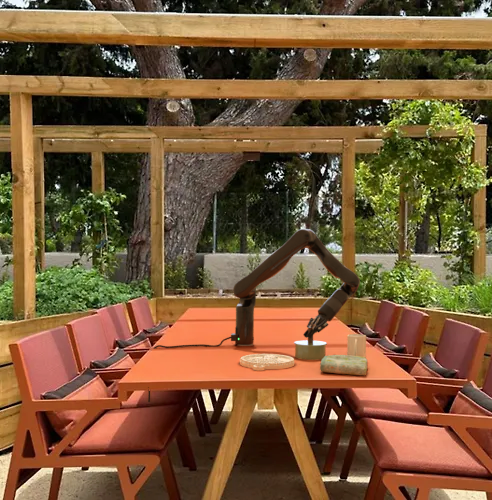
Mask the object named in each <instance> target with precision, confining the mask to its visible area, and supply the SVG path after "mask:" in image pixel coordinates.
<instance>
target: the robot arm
mask: <svg viewBox="0 0 492 500" xmlns="http://www.w3.org/2000/svg"><path fill="white" fill-rule="evenodd" d="M303 249H308V250H309V251H311V252H312V253H313V254H314V255H315V256H316V257H317V258H318V260H319V261H320V262H321V264H322V266H323V267H324V268H325V269H326V270H327V272H329V273H330V274H331V275H332V276H333V277H334V278H335V279H339V280H340V281H342V282H343V283H342V285H340V287H339V288H338V289H336V290H335V291H334V292H333V293H332V295H330V296H329V297H328V298H327V299H326V300H325V301H324V302H323V304H321V306H320V307H319V309H318V310H317V315H316V316H315V317H314V318H313V317H311V318H310V319H309V321H308V322H307V325H306V328H307V329H306V330H305V332H304V333H303V337H304V338H307V339H308V338H309V339H310V338H311V337H312V336H313V337H314V335H315V334H317V333H320V332H322V331H323V330H324V329H325V328H327V327H328V326H329V323H330V322H331V321H332V320H333V319H334V318H335V317H336V315H337V314H338V313H339V312H340V311H341V309H342V308H343V306H344V305H345V304H346V303H347V301H348V300H349V299H350V298H351V297H352V296H353V295H354V294H355V293H356V292H357V291H358V289H359V287H360V284H361V280H360V279H361V278H360V277H359V276H358V274H356V273H355V272H354V271H353V270H351V269H350V268H348V267H346V266H345V264H343V263H342V262H341V261H340V259H338V258H337V257H336V256H335V255H334V254H333V253H332V252H331V251H330V250H329V249H328V248H327V247H326V246H325V245H324V243H323V242H322V241H321V240H320V238H319V237H318V235H317V234H316V233H315V232H314V231H313V230H312V229H309V228H300V229H297V230H296V231H295V232H294V233H293V234H292V235H291V237H289V239H287V241H286V242H285V243H284V244H283V245H282V246H280V247H279V248H278V249H276V250H275V251H274V252H272V253H271V254H270V255H269V256H267V257H266V258H265V259H264V260H263V261H262V262H260V263H259V264H258V265H257V266H256V267H255V268H254V269H253V270H251V272H250V273H248V274H246V275H245V276H244V277H243V278H240V279H239V280H238V281H236V282H235V284H234V285H233V289H232V292H233V295H234V297H236V298H237V299H239V301H238V303H237V305H236V306H235V327H234V330H235V333H234V332H233V333H231V334H230V336H228V337H225V338H223V339H222V340H221V342H220V343H219V344H216V345H213V344H212V345H211V344H200V343H199V344H181V345H180V344H179V345H169V346H168V345H167V346H166V345H163V344H157V345H155V346H154V347H153V349H157V348H165V349H176V348H183V347H184V348H185V347H188V348H189V347H209V348H211V347H213V348H216V347H221V346H222V345H223V343H224V341H227V340H230V341H231V342H234V347H253V346H254V345H255V343H254V341H255V335H254V334H255V307H256V303H257V302H256V301H257V287H258V286H259V285H260V284H262V283H264V282H266V281H268V280H270V279H271V278H273V277H275V276H276V275H277V274H279V273H281V271H282V270H283V269H284V268H285V267H286V266H287V265H288V264H289V262H290V260H291V259H292V258H293V257H294V256H295V255H296V254H297V253H299V252H300V251H302V250H303ZM328 322H329V323H328ZM308 327H313V328H312V330H310V332H309V333H308ZM147 400H148V401H147V402H148V403H150V402H151V390H150V391H149V390H148V399H147Z"/></svg>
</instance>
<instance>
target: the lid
mask: <svg viewBox="0 0 492 500" xmlns="http://www.w3.org/2000/svg"><path fill="white" fill-rule="evenodd" d="M312 328H313V327H307V329H308V333H309V332H310V330H312ZM293 344H294V346H295V345H300V346H325V345H326V346H327V344H328V343H327V342H326V341H322V340H314V335H313V336H312V337H311V338H310V339H309V338H308V337H307V339H304V340H295V341H293Z"/></svg>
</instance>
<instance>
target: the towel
mask: <svg viewBox="0 0 492 500" xmlns="http://www.w3.org/2000/svg"><path fill="white" fill-rule="evenodd" d="M320 360H321V359H320ZM319 370H320V372H322V373H328V374H329V373H330V374H339V375H341V374H342V375H350V376H351V375H352V376H366V375H367V371H368V358H367V357H366V358H365V357H361V356H349V355H347V354H328V355H325V356H324V358H323V359H322V360H321V361H320V366H319Z"/></svg>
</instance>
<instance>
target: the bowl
mask: <svg viewBox="0 0 492 500" xmlns="http://www.w3.org/2000/svg"><path fill="white" fill-rule="evenodd" d="M326 346H327V345H325V346H300V345H295V344H294V358H296V359H299V360H309V361H315V360H316V361H318V360H322V359H323V358H324V356H327V355H326V352H327V351H326V350H327V349H326Z"/></svg>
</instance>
